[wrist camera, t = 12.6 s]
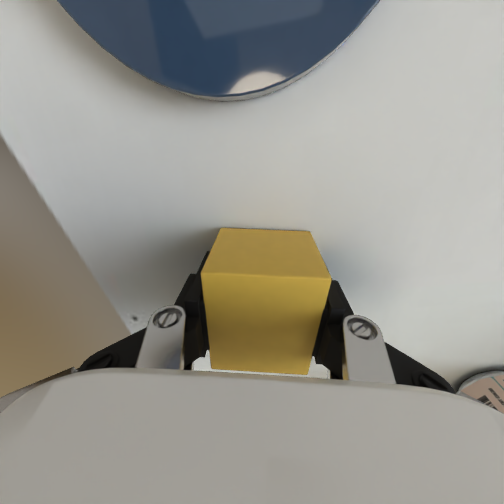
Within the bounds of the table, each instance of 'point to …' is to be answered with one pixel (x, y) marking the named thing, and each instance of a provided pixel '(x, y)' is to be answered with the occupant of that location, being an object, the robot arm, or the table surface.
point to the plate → (220, 40)
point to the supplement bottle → (486, 388)
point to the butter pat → (264, 300)
